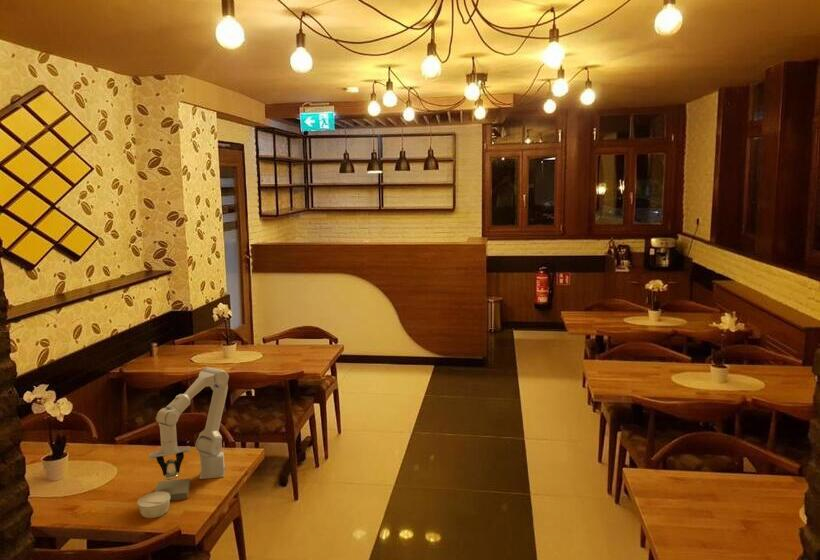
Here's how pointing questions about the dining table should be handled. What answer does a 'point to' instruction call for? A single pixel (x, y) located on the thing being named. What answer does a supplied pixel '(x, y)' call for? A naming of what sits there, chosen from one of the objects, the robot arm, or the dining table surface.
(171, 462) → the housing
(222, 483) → the dining table surface
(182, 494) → the stand
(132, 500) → the dining table surface
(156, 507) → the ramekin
